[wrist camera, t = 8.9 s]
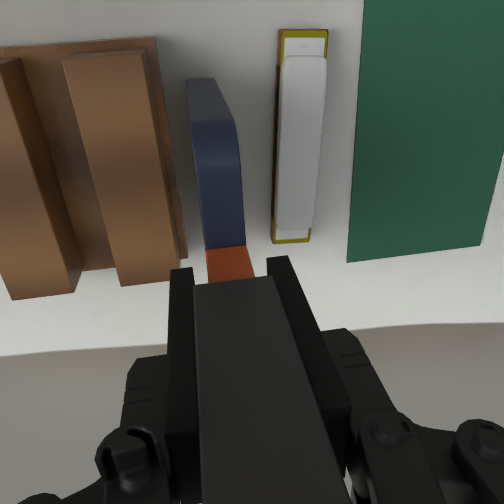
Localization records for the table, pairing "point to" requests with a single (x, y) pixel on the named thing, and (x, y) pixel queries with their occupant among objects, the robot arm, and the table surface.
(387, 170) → the mat
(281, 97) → the harmonica
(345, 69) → the table surface
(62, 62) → the stand
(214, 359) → the racket
